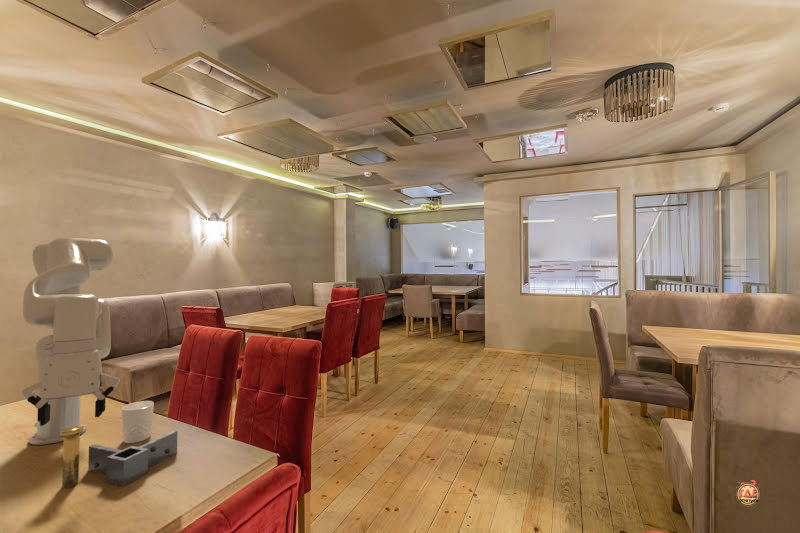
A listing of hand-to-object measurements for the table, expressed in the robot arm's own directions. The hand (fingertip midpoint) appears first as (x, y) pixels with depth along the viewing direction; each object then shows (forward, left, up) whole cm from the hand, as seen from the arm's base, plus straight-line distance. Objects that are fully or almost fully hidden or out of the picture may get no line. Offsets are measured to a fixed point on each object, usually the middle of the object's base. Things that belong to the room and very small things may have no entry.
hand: (72, 419), depth 82 cm
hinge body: (+5, +11, -15) cm, 20 cm away
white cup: (-9, +22, -16) cm, 29 cm away
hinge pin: (-1, 0, -16) cm, 15 cm away
